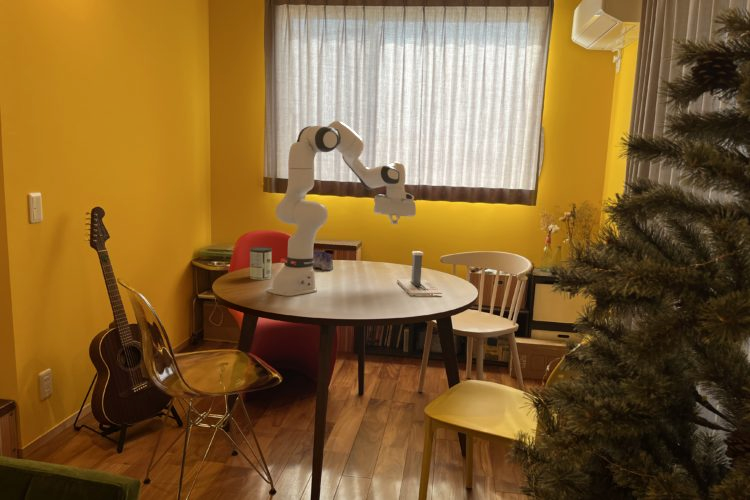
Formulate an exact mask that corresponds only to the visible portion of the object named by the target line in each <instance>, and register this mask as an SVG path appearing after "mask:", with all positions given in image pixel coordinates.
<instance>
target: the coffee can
mask: <svg viewBox="0 0 750 500" xmlns="http://www.w3.org/2000/svg"><path fill="white" fill-rule="evenodd" d="M272 253H273V248H271V247H270V246H269V247H268V246H254V247H250V248H249V279H252V280H256V281H258V280H259V281H266V280H270V279H272V265H273V264H272V263H273V262H272V260H273V259H272V258H273V257H272V255H273V254H272Z"/></svg>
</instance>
